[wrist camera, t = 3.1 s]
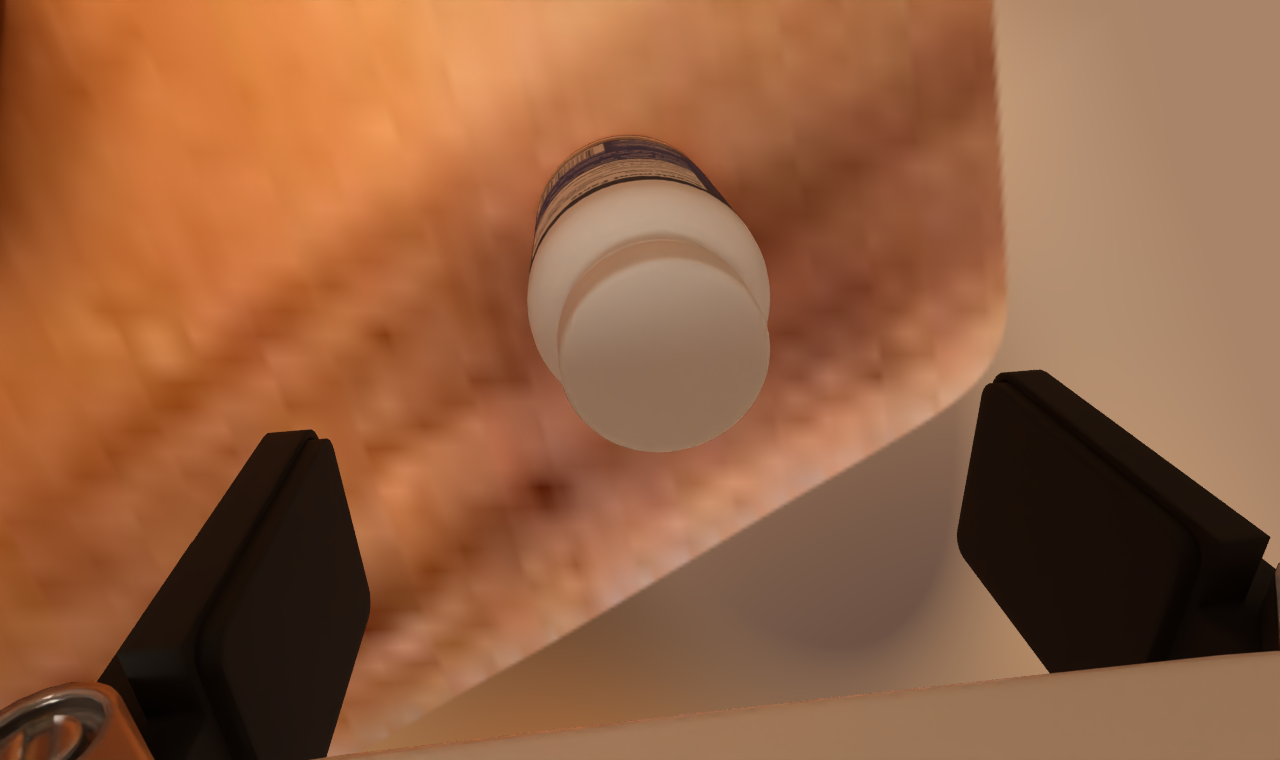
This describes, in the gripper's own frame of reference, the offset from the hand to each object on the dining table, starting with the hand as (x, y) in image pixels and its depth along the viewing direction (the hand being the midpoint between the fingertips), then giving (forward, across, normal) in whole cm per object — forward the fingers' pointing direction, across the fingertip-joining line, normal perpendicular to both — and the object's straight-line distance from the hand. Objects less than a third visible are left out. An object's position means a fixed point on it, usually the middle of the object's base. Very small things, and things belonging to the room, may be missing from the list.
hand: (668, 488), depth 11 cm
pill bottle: (+14, -1, 0) cm, 14 cm away
